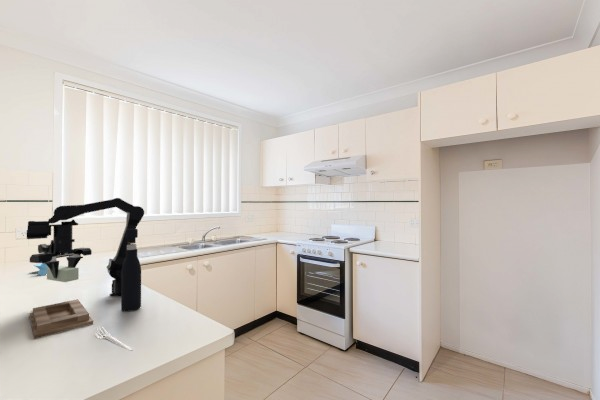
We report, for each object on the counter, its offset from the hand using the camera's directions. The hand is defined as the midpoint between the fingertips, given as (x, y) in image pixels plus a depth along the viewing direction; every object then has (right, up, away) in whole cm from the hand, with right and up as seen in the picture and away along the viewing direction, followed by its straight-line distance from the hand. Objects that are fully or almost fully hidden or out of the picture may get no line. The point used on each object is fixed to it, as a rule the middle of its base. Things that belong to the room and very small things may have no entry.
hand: (62, 276), depth 109 cm
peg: (0, -1, 0) cm, 1 cm away
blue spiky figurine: (-56, -13, +54) cm, 79 cm away
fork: (+41, -11, -30) cm, 52 cm away
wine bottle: (+30, -11, -5) cm, 33 cm away
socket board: (+12, -11, -15) cm, 22 cm away
